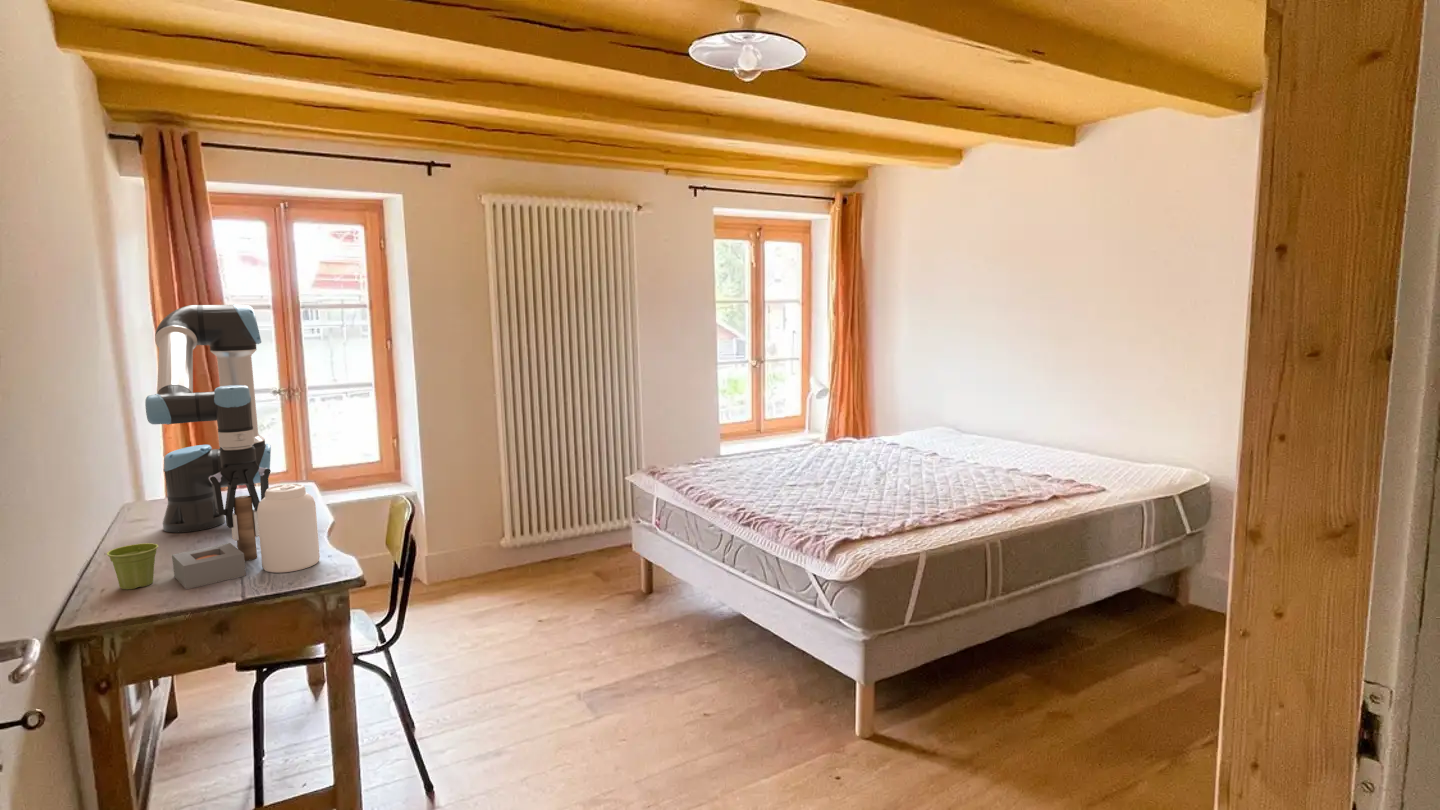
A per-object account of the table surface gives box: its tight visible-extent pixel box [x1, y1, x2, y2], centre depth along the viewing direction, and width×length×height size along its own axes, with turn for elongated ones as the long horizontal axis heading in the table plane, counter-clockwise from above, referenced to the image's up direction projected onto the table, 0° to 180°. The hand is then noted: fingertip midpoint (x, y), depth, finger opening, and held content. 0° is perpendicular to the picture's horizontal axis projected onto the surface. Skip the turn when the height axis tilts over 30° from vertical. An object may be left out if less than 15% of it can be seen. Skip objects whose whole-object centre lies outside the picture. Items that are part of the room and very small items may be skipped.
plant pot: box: [106, 542, 159, 590], centre depth 175 cm, size 9×9×9 cm
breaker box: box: [171, 542, 247, 590], centre depth 180 cm, size 12×12×6 cm
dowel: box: [233, 495, 258, 562], centre depth 192 cm, size 4×4×16 cm
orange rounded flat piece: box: [196, 555, 218, 560], centre depth 180 cm, size 5×5×2 cm
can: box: [257, 483, 321, 574], centre depth 186 cm, size 12×12×20 cm
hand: (245, 537), depth 192 cm, fingers closed on dowel, 4 cm apart
